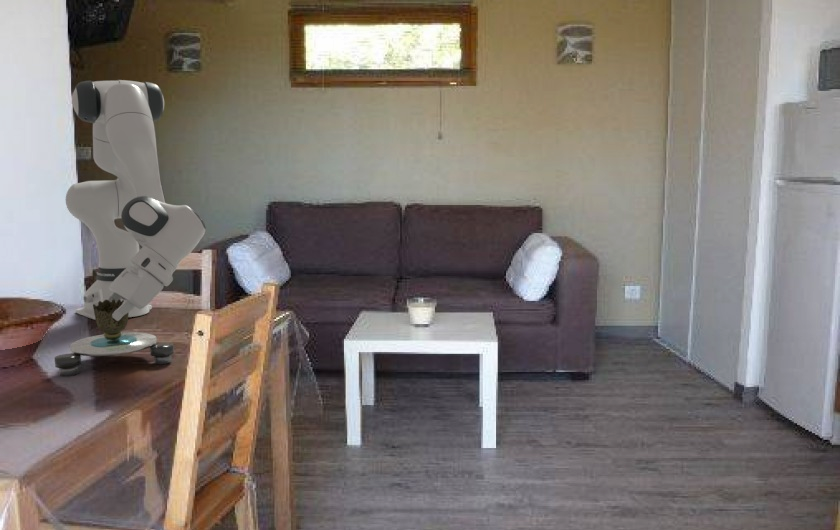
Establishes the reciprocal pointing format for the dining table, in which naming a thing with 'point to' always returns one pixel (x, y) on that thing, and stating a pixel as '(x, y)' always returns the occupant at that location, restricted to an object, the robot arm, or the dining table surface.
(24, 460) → the dining table surface
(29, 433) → the dining table surface
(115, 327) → the cup
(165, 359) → the leveling base
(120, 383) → the dining table surface
